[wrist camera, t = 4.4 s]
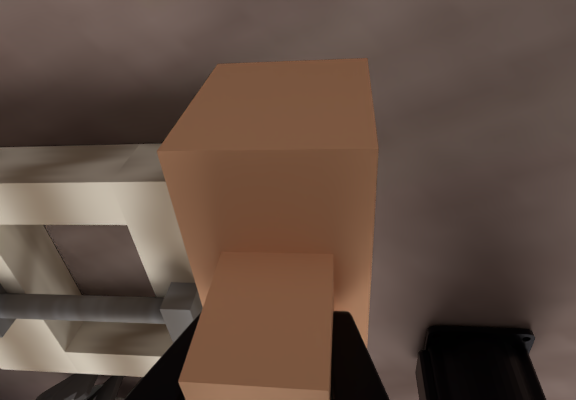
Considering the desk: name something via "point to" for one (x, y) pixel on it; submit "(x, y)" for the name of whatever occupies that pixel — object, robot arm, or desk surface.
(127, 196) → the beige square frame
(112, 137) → the desk surface
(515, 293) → the desk surface
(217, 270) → the wooden cross piece
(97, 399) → the clip-on lamp
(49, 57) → the desk surface
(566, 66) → the desk surface
